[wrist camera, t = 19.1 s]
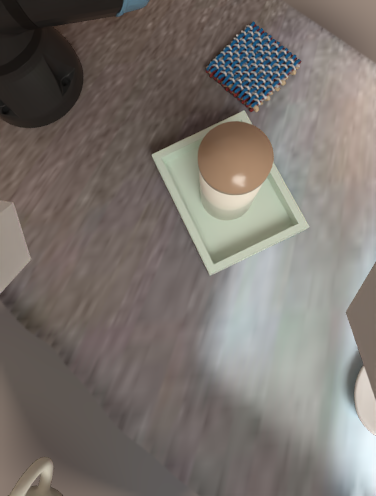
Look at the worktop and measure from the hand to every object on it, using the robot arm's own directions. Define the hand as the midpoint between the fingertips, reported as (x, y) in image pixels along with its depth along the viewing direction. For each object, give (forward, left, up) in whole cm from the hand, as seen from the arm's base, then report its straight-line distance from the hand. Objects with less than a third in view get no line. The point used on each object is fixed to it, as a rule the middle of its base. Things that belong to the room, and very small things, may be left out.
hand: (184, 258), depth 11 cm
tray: (-9, +9, -30) cm, 32 cm away
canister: (-9, +9, -29) cm, 32 cm away
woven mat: (-25, +21, -30) cm, 44 cm away
